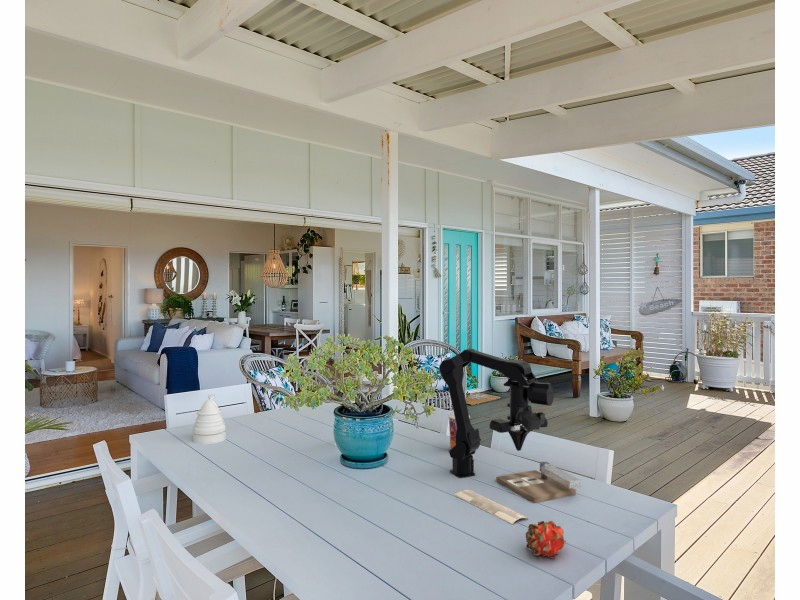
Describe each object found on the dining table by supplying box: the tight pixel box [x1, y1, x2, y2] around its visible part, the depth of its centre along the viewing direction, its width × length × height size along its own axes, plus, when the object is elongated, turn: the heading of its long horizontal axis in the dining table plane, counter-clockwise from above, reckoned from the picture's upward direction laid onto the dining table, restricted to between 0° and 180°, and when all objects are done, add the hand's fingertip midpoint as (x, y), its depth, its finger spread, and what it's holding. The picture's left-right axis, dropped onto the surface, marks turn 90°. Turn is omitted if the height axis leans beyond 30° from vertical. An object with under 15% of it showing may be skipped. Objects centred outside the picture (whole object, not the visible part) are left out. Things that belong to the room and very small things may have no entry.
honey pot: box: [192, 394, 227, 445], centre depth 216 cm, size 13×13×18 cm
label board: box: [496, 469, 577, 504], centre depth 165 cm, size 16×19×4 cm
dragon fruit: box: [525, 520, 566, 560], centre depth 124 cm, size 8×8×12 cm
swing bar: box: [539, 461, 581, 489], centre depth 163 cm, size 16×4×2 cm, turn 20°
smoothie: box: [448, 409, 471, 450], centre depth 202 cm, size 8×8×20 cm
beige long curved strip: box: [454, 489, 529, 525], centre depth 150 cm, size 24×7×2 cm, turn 35°
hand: (518, 450), depth 165 cm, fingers closed
